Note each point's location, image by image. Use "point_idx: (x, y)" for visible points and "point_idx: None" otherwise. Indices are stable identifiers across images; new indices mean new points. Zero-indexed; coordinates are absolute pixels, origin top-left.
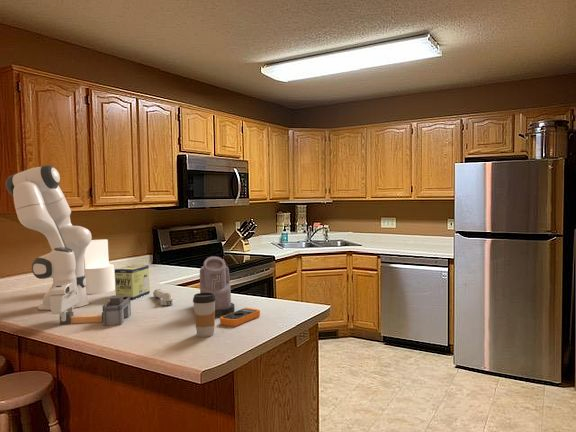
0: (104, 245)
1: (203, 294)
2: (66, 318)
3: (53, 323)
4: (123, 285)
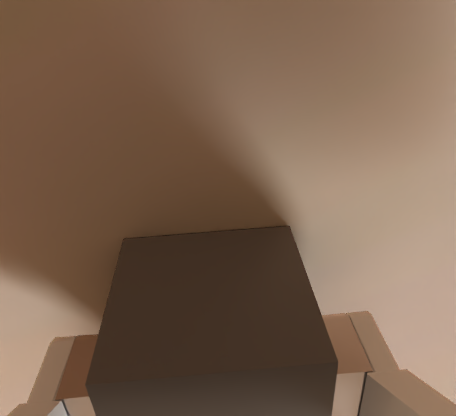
0: None
1: None
2: None
3: (197, 82)
4: None
